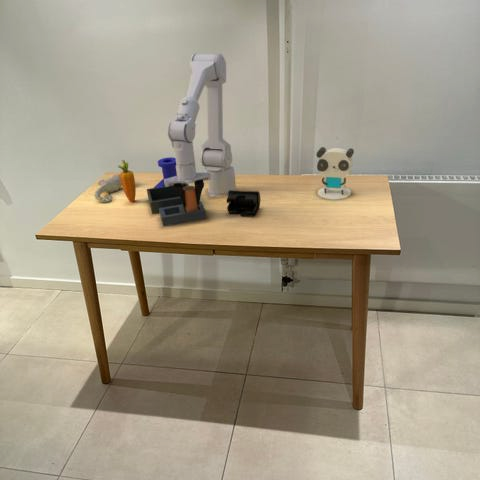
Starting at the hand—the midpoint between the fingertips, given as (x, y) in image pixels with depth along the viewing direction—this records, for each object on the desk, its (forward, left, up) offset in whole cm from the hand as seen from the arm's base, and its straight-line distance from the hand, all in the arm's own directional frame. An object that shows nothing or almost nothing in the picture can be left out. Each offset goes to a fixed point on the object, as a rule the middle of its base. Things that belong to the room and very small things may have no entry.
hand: (191, 204), depth 151 cm
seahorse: (+24, -33, -5) cm, 41 cm away
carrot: (+18, -20, -5) cm, 27 cm away
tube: (0, 0, -2) cm, 2 cm away
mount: (+3, -33, -5) cm, 33 cm away
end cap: (-17, +2, -5) cm, 18 cm away
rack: (+3, 0, -5) cm, 6 cm away
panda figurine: (-50, -1, -5) cm, 50 cm away
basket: (+5, -13, -5) cm, 15 cm away
